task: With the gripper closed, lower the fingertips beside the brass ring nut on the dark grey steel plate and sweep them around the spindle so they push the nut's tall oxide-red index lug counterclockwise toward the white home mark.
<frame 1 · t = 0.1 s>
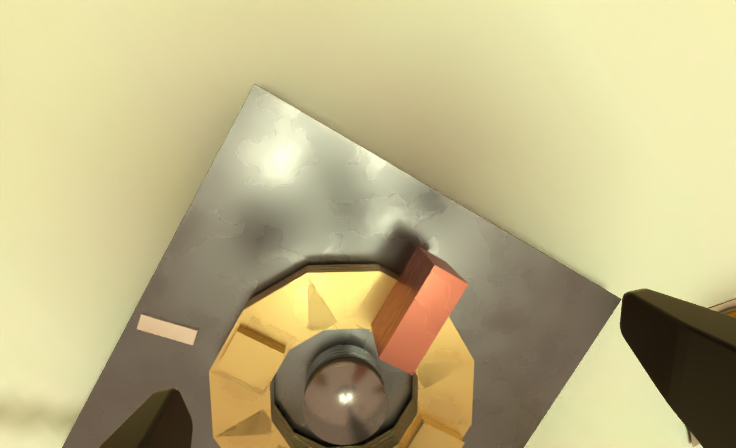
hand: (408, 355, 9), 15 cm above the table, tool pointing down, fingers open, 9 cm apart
ring nut: (355, 394, 21), point 4 cm above the table, hinge at 0.0°
cap plate: (343, 366, 25), on the table
condiment: (729, 363, 28), on the table
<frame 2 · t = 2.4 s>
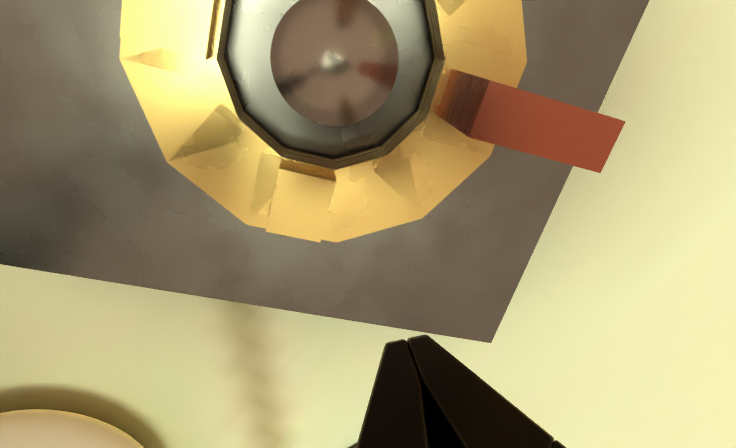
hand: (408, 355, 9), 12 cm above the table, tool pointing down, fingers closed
ring nut: (365, 71, 14), point 4 cm above the table, hinge at 0.0°
cap plate: (329, 53, 18), on the table
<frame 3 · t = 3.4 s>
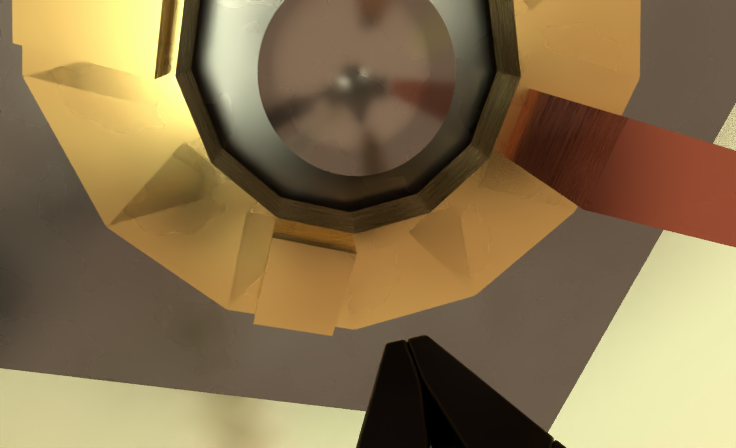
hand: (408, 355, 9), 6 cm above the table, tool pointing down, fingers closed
ring nut: (406, 95, 9), point 4 cm above the table, hinge at 0.0°
cap plate: (344, 64, 13), on the table
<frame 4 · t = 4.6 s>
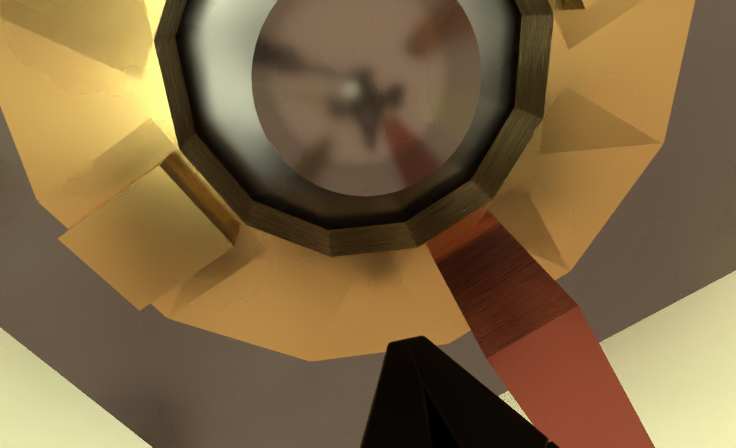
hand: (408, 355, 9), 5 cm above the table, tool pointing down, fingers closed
ring nut: (401, 137, 8), point 4 cm above the table, hinge at 2.4°, touching gripper
cap plate: (349, 66, 11), on the table
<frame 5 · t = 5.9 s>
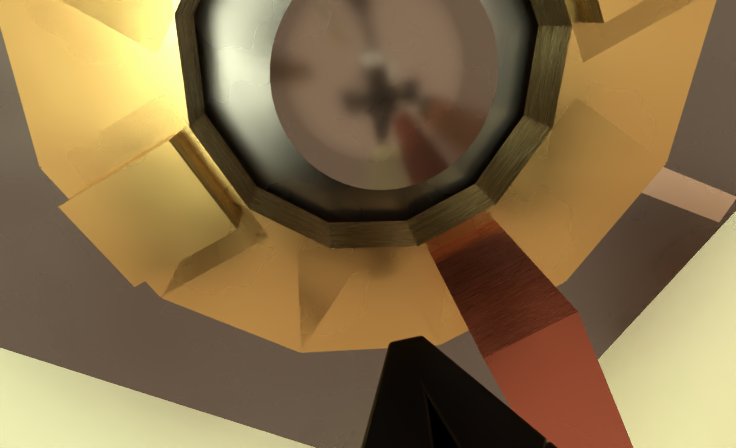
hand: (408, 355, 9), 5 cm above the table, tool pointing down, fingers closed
ring nut: (414, 133, 8), point 4 cm above the table, hinge at 59.5°, touching gripper
cap plate: (363, 61, 12), on the table
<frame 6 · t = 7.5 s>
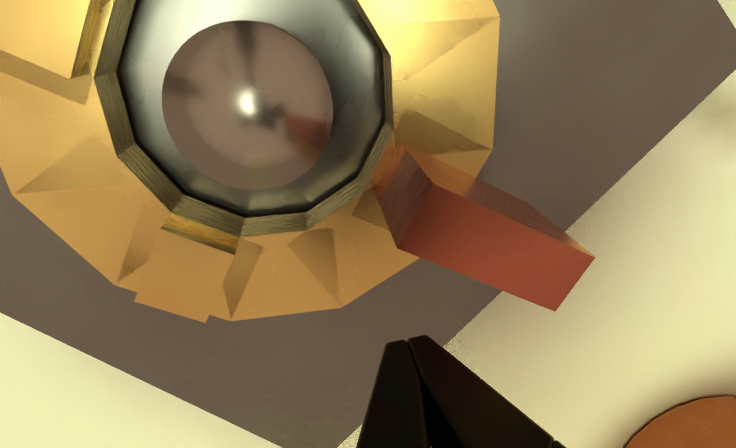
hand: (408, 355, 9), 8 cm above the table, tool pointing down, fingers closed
ring nut: (286, 131, 11), point 4 cm above the table, hinge at 104.7°
cap plate: (263, 88, 15), on the table
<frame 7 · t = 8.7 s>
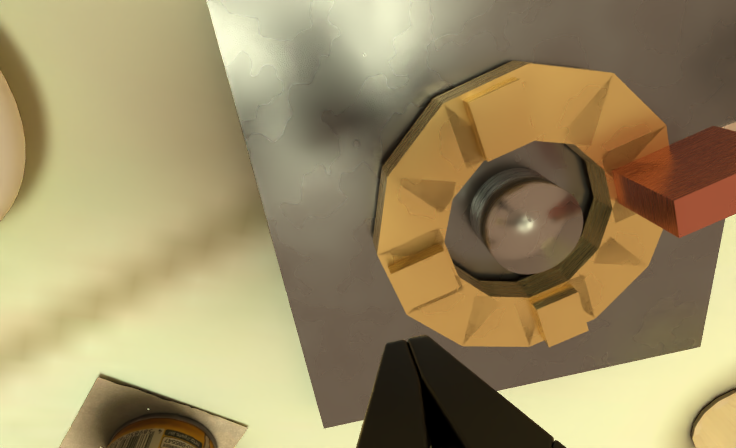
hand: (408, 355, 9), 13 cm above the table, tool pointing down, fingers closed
ring nut: (562, 226, 18), point 4 cm above the table, hinge at 104.7°
cup: (728, 416, 32), on the table
cap plate: (499, 198, 22), on the table
condiment: (152, 440, 26), on the table
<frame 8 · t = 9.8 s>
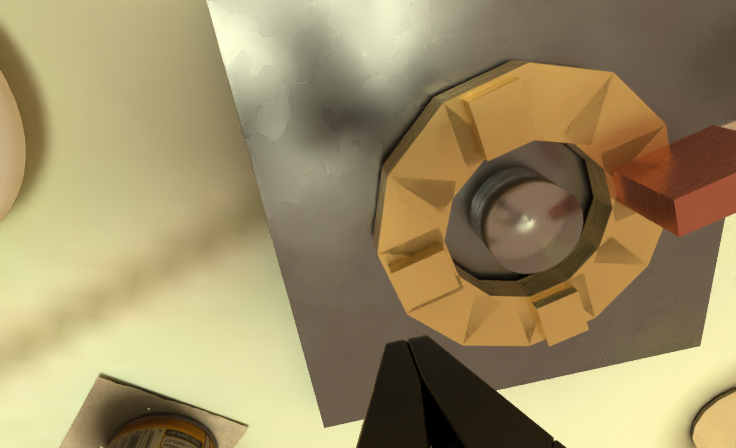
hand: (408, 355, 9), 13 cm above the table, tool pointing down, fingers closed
ring nut: (562, 225, 18), point 4 cm above the table, hinge at 104.7°
cup: (728, 415, 32), on the table
cap plate: (499, 197, 22), on the table
condiment: (152, 439, 26), on the table
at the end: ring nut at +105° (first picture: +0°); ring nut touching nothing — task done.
